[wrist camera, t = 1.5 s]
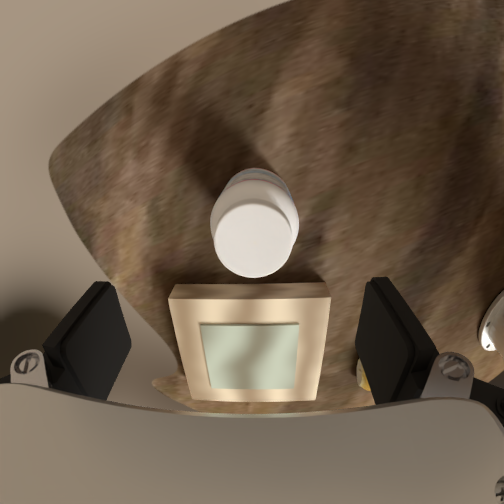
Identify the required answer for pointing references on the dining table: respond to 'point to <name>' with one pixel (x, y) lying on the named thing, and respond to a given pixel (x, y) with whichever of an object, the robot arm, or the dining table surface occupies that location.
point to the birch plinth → (251, 339)
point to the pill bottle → (254, 223)
